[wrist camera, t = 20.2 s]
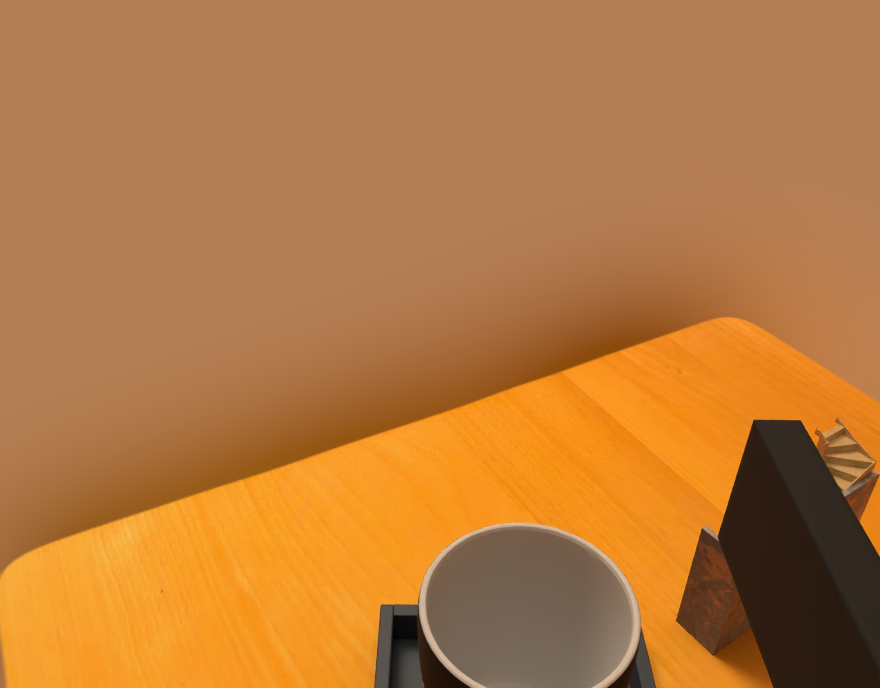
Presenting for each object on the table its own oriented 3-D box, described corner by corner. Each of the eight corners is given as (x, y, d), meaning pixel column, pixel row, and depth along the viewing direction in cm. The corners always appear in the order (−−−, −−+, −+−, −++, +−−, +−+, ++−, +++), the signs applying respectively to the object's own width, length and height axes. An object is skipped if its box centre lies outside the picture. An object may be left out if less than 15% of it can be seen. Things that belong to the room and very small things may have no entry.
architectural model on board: (795, 536, 50) (840, 415, 45) (838, 568, 48) (892, 445, 43) (668, 619, 45) (703, 492, 40) (711, 659, 43) (753, 531, 38)
